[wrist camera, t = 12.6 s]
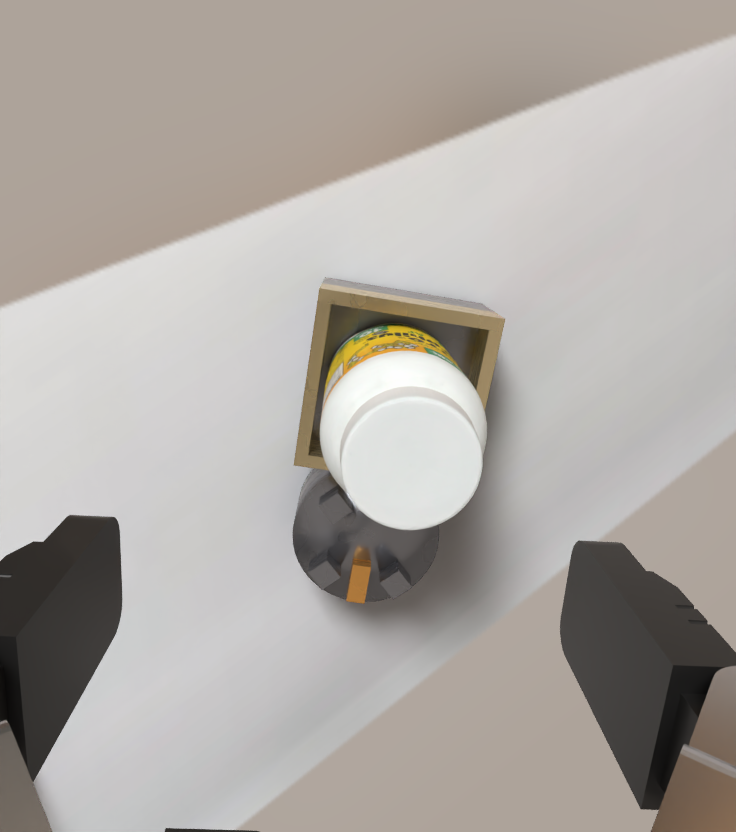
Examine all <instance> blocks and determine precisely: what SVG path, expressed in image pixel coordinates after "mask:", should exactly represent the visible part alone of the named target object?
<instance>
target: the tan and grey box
mask: <svg viewBox="0 0 736 832" xmlns="http://www.w3.org/2000/svg"><path fill="white" fill-rule="evenodd" d="M504 322H505V319H504V318H503V317H501V316H500V315H498V314H497V313H495V312H494V311H492V310H491V309H489V308H488V307H486V306H485V305H483V304H481V303H475V302H469V301H463V300H457V299H451V298H445V297H439V296H433V295H427V294H421V293H415V292H409V291H403V290H397V289H391V288H385V287H379V286H373V285H367V284H361V283H356V282H350V281H344V280H338V279H332V278H326V277H325V279H324V281H323V282H322V284H321V286H320V288H319V295H318V302H317V309H316V316H315V323H314V330H313V336H312V343H311V350H310V357H309V364H308V371H307V378H306V384H305V391H304V398H303V405H302V412H301V419H300V426H299V433H298V439H297V446H296V453H295V460H294V465H295V466H302V467H309V468H314V469H313V470H312V471H311V472H310V474H309V475H308V476H307V478H306V480H305V482H304V484H303V486H302V489H301V492H300V496H299V501H298V506H297V511H296V516H295V521H294V526H293V545H294V550H295V554H296V556H297V559H298V562H299V563H300V565H301V567H302V569H303V570H304V572H305V573H306V574H307V576H308V577H309V578H310V579H311V580H312V581H313V582H314V583H315V584H316V585H318V586H319V587H320V588H321V589H323V590H325V591H327V592H328V593H330V594H332V595H335V596H337V597H340V598H343V599H346V601H349V602H356V603H363V604H364V603H365V602H370V601H379V600H384V599H387V598H391V597H392V599H395V598H396V597H398V596H400V595H401V594H403V593H404V592H406V591H407V590H409V589H411V588H412V586H413V585H414V584H416V583H417V582H418V581H419V580H420V579H421V578H422V577H423V575H424V574H425V573H426V572H427V570H428V569H429V567H430V566H431V564H432V562H433V559H434V557H435V555H436V551H437V548H438V541H439V528H438V525H436V526H433V527H430V528H426V529H420V530H400V529H395V528H390V527H387V526H384V525H382V524H379V523H377V522H375V521H374V520H372V519H370V518H369V517H368V516H366V515H365V514H364V513H363V512H361V511H360V510H359V509H358V508H357V506H356V505H355V504H354V503H353V501H352V500H351V498H350V497H349V495H348V493H347V492H345V491H344V490H343V489H342V488H341V487H340V485H339V484H338V483H337V482H336V481H335V479H334V478H333V476H332V475H331V473H330V471H329V469H328V467H327V465H326V463H325V460H324V458H323V454H322V450H321V444H320V422H321V414H322V406H323V399H324V391H325V384H326V378H327V373H328V369H329V367H330V364H331V361H332V359H333V357H334V356H335V354H336V352H337V351H338V349H339V348H340V347H341V346H342V345H343V344H344V343H345V342H346V341H347V340H348V339H349V338H351V337H352V336H353V335H355V334H357V333H359V332H361V331H363V330H365V329H368V328H370V327H373V326H376V325H380V324H385V323H402V324H408V325H411V326H414V327H417V328H420V329H422V330H424V331H426V332H428V333H429V334H431V335H432V336H433V337H434V338H436V339H437V340H438V341H439V342H440V343H441V344H442V345H443V347H444V348H445V349H446V350H447V352H448V353H449V355H450V356H451V357H452V358H453V360H454V361H455V362H456V363H457V365H458V366H459V368H460V369H461V371H462V372H463V373H464V374H465V376H466V377H467V378H468V379H469V381H470V382H471V383H472V385H473V386H474V388H475V389H476V391H477V392H478V394H479V397H480V399H481V402H482V405H483V408H484V411H485V408H486V403H487V399H488V394H489V390H490V385H491V381H492V376H493V372H494V367H495V363H496V358H497V354H498V349H499V345H500V340H501V336H502V331H503V327H504Z"/></svg>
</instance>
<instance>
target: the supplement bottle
mask: <svg viewBox="0 0 736 832" xmlns="http://www.w3.org/2000/svg"><path fill="white" fill-rule="evenodd" d="M486 441H487V421H486V415H485V411H484V408H483V405H482V402H481V399H480V397H479V394H478V392H477V391H476V389H475V388H474V386H473V385H472V383H471V382H470V381H469V379H468V378H467V377H466V376H465V374H464V373H463V372H462V371H461V369H460V368H459V366H458V365H457V363H456V362H455V361H454V360H453V358H452V357H451V356H450V355H449V353H448V352H447V350H446V349H445V348H444V347H443V345H442V344H441V343H440V342H439V341H438V340H437V339H436V338H434V337H433V336H432V335H431V334H429V333H428V332H426V331H424V330H422V329H420V328H417V327H414V326H411V325H408V324H402V323H385V324H380V325H376V326H373V327H370V328H368V329H365V330H363V331H361V332H359V333H357V334H355V335H353V336H352V337H351V338H349V339H348V340H347V341H346V342H345V343H344V344H343V345H342V346H341V347H340V348H339V349H338V351H337V352H336V354H335V356H334V357H333V359H332V361H331V364H330V367H329V369H328V373H327V378H326V384H325V391H324V399H323V406H322V414H321V422H320V444H321V450H322V454H323V458H324V460H325V463H326V465H327V467H328V469H329V471H330V473H331V475H332V476H333V478H334V479H335V481H336V482H337V483H338V484H339V485H340V487H341V488H342V489H343V490H344V491H345V492H347V493H348V495H349V497H350V498H351V500H352V501H353V503H354V504H355V505H356V506H357V508H358V509H359V510H360V511H361V512H363V513H364V514H365V515H366V516H368V517H369V518H370V519H372V520H374V521H375V522H377V523H379V524H382V525H384V526H387V527H390V528H395V529H400V530H420V529H426V528H430V527H433V526H436V525H438V524H441V523H443V522H445V521H447V520H448V519H450V518H452V517H453V516H455V515H456V514H457V513H458V512H459V511H461V510H462V509H463V508H464V507H465V505H466V504H467V503H468V502H469V501H470V499H471V498H472V496H473V495H474V493H475V491H476V489H477V487H478V484H479V482H480V478H481V473H482V468H483V455H484V451H485V447H486Z"/></svg>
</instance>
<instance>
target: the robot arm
mask: <svg viewBox="0 0 736 832" xmlns="http://www.w3.org/2000/svg"><path fill="white" fill-rule="evenodd" d="M121 610H122V579H121V553H120V530H119V524H118V521H117V519H116V518H115V517H100V516H80V515H69V516H68V517H66V518H65V520H64V521H63V522H62V523H61V524H60V525H59V526H58V527H57V528H56V529H55V530H54V531H53V532H52V533H51V534H50V535H49V537H48V538H47V539H46V540H45V541H44V542H32V543H30V544H28V545H26V546H24V547H22V548H20V549H18V550H16V551H14V552H12V553H10V554H8V555H7V556H5V557H4V558H3V559H2V560H1V561H0V832H52V829H51V827H50V824H49V822H48V819H47V817H46V814H45V812H44V809H43V807H42V804H41V802H40V799H39V797H38V794H37V792H36V789H35V787H34V784H33V781H34V780H35V778H36V776H37V774H38V772H39V771H40V769H41V767H42V765H43V763H44V762H45V760H46V758H47V756H48V754H49V753H50V751H51V749H52V747H53V746H54V744H55V742H56V740H57V738H58V737H59V735H60V733H61V731H62V729H63V728H64V726H65V724H66V722H67V720H68V719H69V717H70V715H71V713H72V712H73V710H74V708H75V706H76V704H77V703H78V701H79V699H80V697H81V695H82V694H83V692H84V690H85V688H86V686H87V685H88V683H89V681H90V679H91V678H92V676H93V674H94V672H95V670H96V669H97V667H98V665H99V663H100V661H101V660H102V658H103V656H104V654H105V652H106V651H107V649H108V647H109V645H110V644H111V642H112V640H113V638H114V636H115V634H116V632H117V629H118V625H119V622H120V617H121ZM560 635H561V643H562V648H563V651H564V655H565V657H566V659H567V661H568V663H569V665H570V667H571V669H572V671H573V673H574V675H575V677H576V679H577V681H578V683H579V685H580V687H581V689H582V691H583V693H584V695H585V697H586V699H587V701H588V703H589V705H590V707H591V709H592V712H593V714H594V716H595V718H596V720H597V722H598V724H599V725H600V728H601V730H602V732H603V734H604V736H605V738H606V740H607V742H608V744H609V746H610V748H611V750H612V751H613V754H614V756H615V758H616V760H617V762H618V764H619V766H620V768H621V770H622V772H623V774H624V776H625V778H626V780H627V782H628V784H629V786H630V788H631V790H632V792H633V794H634V796H635V798H636V800H637V802H638V804H639V806H640V808H641V809H651V810H659V811H658V814H657V816H656V819H655V822H654V824H653V827H652V830H651V832H736V652H735V651H734V650H733V649H732V648H731V647H730V646H729V644H728V643H727V642H726V641H725V640H724V639H723V638H722V637H721V635H720V634H719V633H718V632H717V631H716V630H715V629H714V628H713V627H712V625H708V624H707V620H706V619H705V618H704V616H703V615H702V614H701V613H700V612H699V611H698V610H697V609H694V605H693V604H692V603H691V602H690V601H689V600H688V599H687V598H686V596H685V595H684V594H683V593H682V592H681V591H680V590H679V589H678V587H676V586H674V585H673V584H671V583H670V582H668V581H667V580H665V579H663V578H662V577H660V576H659V575H657V574H655V573H654V572H650V571H645V569H644V568H643V567H642V565H640V563H639V562H638V561H637V560H636V559H635V557H634V556H633V555H632V554H631V552H630V551H629V550H628V549H627V548H626V547H625V545H623V544H622V543H617V542H596V541H578V542H577V543H576V544H575V545H574V548H573V550H572V554H571V560H570V566H569V572H568V578H567V584H566V591H565V596H564V603H563V608H562V614H561V622H560ZM165 832H259V831H243V830H208V829H172V828H166V829H165Z"/></svg>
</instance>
